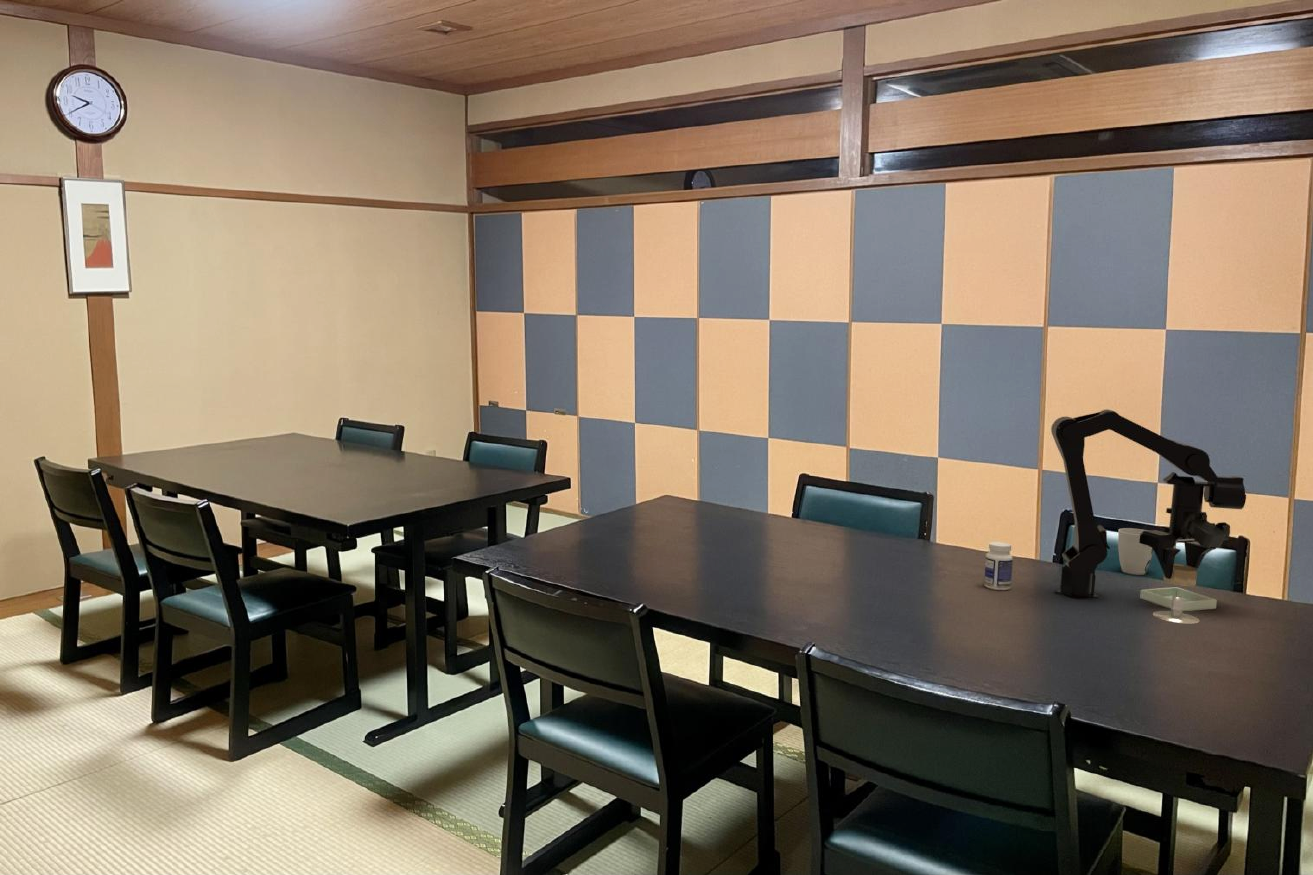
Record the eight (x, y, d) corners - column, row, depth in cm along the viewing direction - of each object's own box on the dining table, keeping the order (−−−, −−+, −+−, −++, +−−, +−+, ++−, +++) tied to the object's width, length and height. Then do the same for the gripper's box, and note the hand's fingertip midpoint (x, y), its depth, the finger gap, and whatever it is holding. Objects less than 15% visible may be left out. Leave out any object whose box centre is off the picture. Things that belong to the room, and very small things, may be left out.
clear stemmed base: (1177, 626, 195) (1179, 604, 194) (1143, 614, 202) (1145, 592, 202) (1209, 623, 197) (1211, 601, 197) (1174, 611, 205) (1176, 590, 205)
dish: (1178, 613, 204) (1179, 603, 204) (1139, 599, 213) (1140, 589, 213) (1215, 610, 207) (1216, 599, 207) (1175, 596, 217) (1176, 587, 217)
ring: (1180, 586, 206) (1181, 571, 206) (1157, 579, 212) (1158, 564, 211) (1201, 585, 208) (1203, 570, 208) (1178, 577, 214) (1179, 563, 213)
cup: (1156, 577, 233) (1160, 536, 232) (1119, 574, 235) (1123, 533, 234) (1146, 569, 241) (1150, 529, 240) (1111, 566, 243) (1114, 527, 242)
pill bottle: (1011, 586, 222) (1015, 543, 220) (1009, 592, 216) (1012, 548, 215) (985, 582, 224) (988, 539, 223) (982, 588, 219) (985, 544, 218)
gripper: (1184, 514, 197) (1177, 590, 199) (1253, 511, 203) (1245, 585, 205) (1140, 504, 208) (1134, 576, 209) (1207, 501, 214) (1200, 571, 216)
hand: (1179, 577), depth 210 cm, fingers closed on ring, 6 cm apart
